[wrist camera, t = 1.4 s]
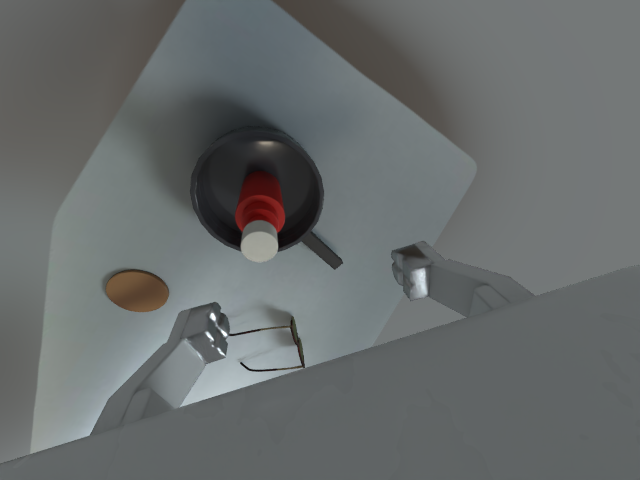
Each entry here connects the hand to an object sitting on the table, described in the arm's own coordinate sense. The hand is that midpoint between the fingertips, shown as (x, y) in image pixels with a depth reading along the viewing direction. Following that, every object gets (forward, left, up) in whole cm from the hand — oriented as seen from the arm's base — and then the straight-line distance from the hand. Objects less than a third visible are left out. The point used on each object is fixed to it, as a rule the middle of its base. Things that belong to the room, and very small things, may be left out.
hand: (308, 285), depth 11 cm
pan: (+2, -5, -28) cm, 29 cm away
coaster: (0, -33, -28) cm, 44 cm away
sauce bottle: (+2, -5, -28) cm, 28 cm away
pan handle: (+15, -5, -26) cm, 30 cm away
